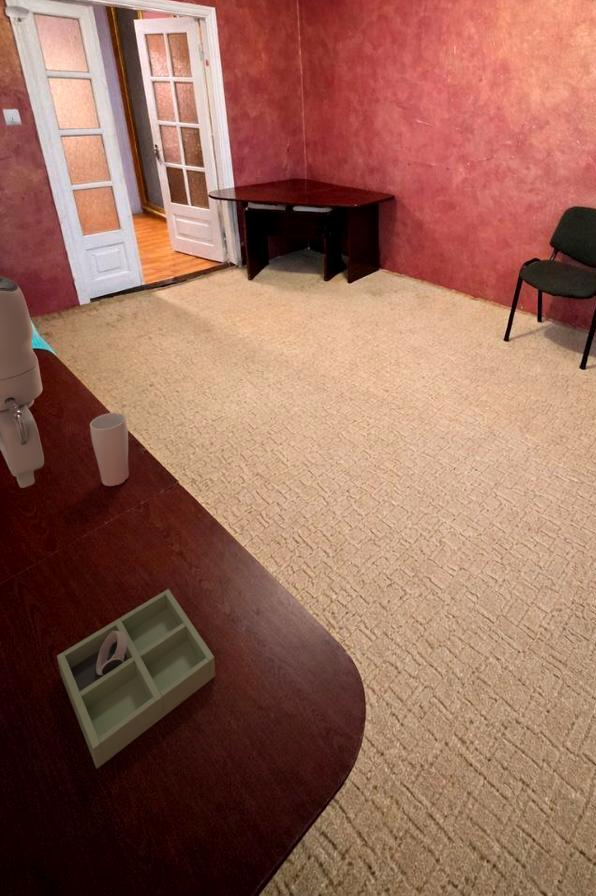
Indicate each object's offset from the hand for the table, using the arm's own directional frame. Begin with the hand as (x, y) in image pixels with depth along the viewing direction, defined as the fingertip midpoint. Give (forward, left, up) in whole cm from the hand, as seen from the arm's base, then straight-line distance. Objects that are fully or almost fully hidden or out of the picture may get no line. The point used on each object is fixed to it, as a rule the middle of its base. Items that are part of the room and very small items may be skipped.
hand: (19, 468), depth 72 cm
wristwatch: (+2, -20, -24) cm, 31 cm away
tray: (+6, -24, -25) cm, 35 cm away
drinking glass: (+18, +22, -25) cm, 38 cm away
